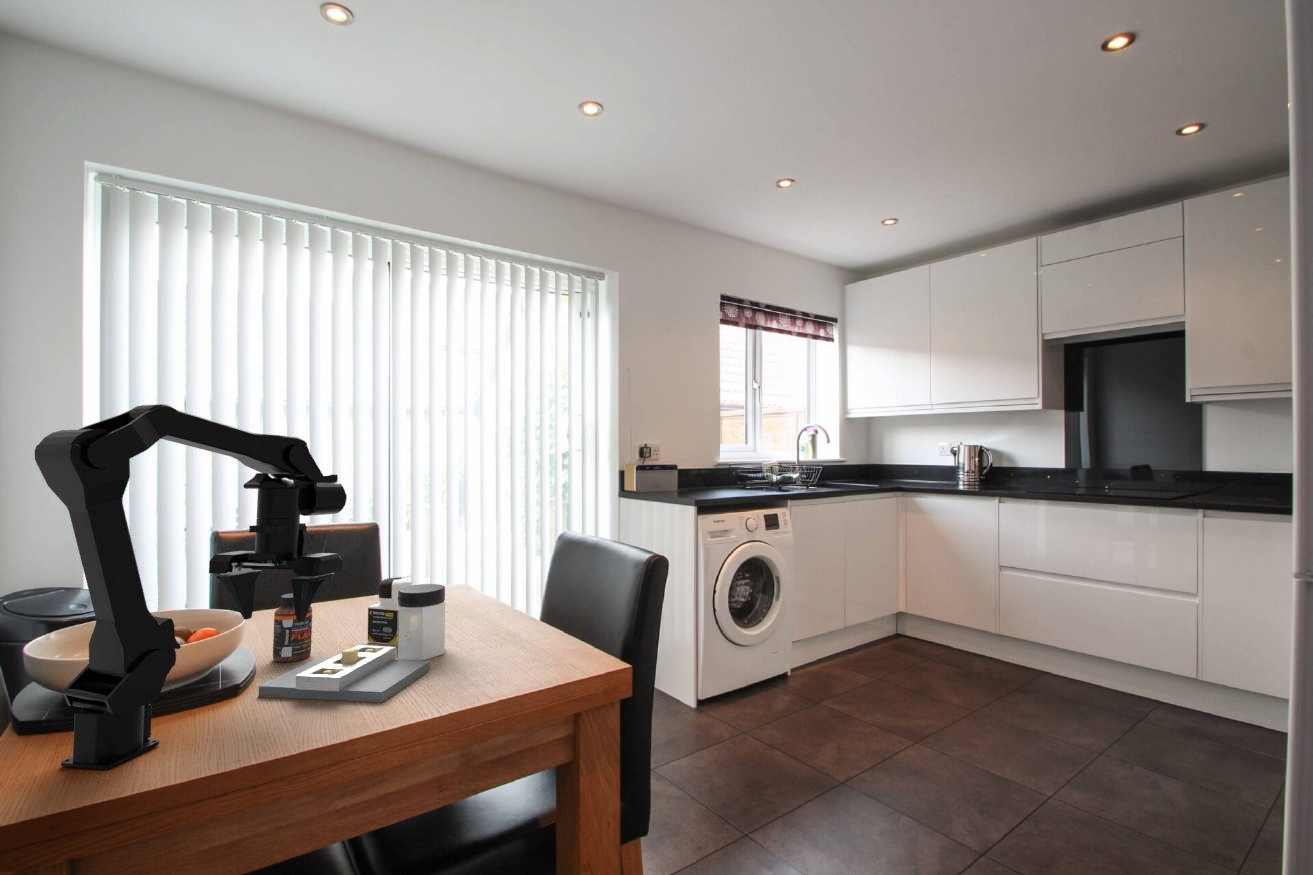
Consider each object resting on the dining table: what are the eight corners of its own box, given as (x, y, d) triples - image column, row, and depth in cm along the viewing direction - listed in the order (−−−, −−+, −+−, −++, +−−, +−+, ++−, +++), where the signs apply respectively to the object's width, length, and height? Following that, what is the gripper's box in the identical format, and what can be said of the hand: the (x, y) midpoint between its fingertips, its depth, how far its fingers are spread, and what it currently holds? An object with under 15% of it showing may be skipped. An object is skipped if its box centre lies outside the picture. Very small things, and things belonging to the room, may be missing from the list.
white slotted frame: (358, 656, 104) (358, 645, 104) (396, 658, 103) (396, 646, 103) (295, 689, 89) (295, 675, 89) (338, 691, 88) (339, 677, 88)
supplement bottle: (293, 664, 105) (294, 599, 105) (264, 662, 106) (265, 597, 107) (318, 653, 111) (320, 591, 111) (291, 651, 112) (292, 590, 112)
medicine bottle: (366, 642, 117) (367, 581, 118) (392, 633, 124) (393, 574, 125) (396, 646, 115) (397, 583, 116) (421, 635, 122) (422, 576, 123)
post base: (382, 702, 88) (382, 667, 88) (258, 696, 91) (259, 662, 91) (429, 669, 102) (430, 639, 102) (321, 665, 104) (322, 636, 105)
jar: (385, 660, 107) (386, 592, 107) (409, 646, 115) (409, 583, 116) (434, 661, 106) (434, 593, 107) (453, 647, 114) (454, 584, 115)
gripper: (366, 515, 100) (362, 610, 99) (266, 513, 103) (262, 606, 102) (318, 520, 89) (314, 627, 88) (208, 518, 92) (203, 622, 91)
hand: (274, 620), depth 92 cm, fingers open, 9 cm apart
